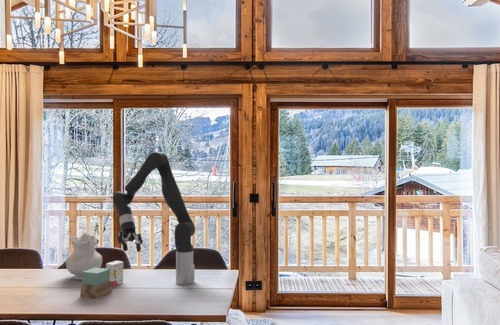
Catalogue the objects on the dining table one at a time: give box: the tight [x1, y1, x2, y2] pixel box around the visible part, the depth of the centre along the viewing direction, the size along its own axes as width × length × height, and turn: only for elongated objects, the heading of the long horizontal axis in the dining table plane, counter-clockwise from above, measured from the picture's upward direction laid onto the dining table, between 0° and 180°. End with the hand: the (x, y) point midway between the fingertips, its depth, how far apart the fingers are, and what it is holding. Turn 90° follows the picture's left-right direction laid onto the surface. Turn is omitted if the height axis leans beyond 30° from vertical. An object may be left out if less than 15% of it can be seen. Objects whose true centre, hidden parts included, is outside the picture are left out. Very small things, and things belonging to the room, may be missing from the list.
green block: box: [81, 267, 110, 286], centre depth 194 cm, size 9×9×6 cm
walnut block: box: [80, 281, 112, 300], centre depth 193 cm, size 10×10×6 cm
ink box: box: [105, 260, 124, 288], centre depth 210 cm, size 9×5×12 cm, turn 156°
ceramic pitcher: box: [65, 232, 103, 281], centre depth 224 cm, size 22×20×25 cm
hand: (132, 251), depth 210 cm, fingers open, 8 cm apart
